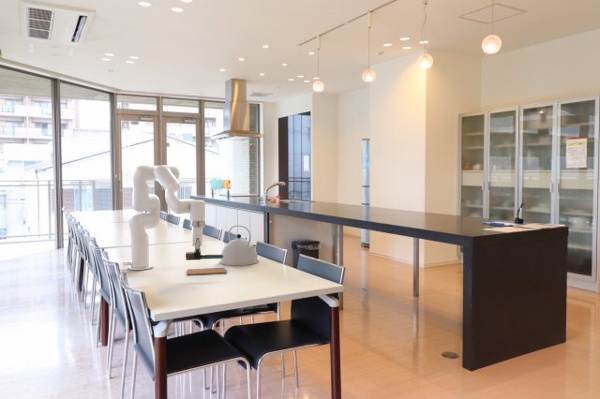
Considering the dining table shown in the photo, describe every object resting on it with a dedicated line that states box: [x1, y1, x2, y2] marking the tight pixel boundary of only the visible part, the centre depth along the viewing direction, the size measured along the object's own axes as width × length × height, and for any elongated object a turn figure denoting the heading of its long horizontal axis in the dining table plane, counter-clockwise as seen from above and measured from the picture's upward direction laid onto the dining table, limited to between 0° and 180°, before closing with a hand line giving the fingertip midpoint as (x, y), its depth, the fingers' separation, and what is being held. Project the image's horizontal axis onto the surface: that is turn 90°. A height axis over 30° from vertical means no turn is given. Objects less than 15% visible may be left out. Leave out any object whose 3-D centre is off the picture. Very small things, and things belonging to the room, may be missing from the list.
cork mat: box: [187, 267, 227, 276], centre depth 253 cm, size 20×12×1 cm, turn 103°
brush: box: [185, 251, 223, 261], centre depth 239 cm, size 19×4×4 cm, turn 103°
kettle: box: [220, 224, 259, 266], centre depth 281 cm, size 25×23×22 cm
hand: (197, 258), depth 238 cm, fingers closed on brush, 4 cm apart
